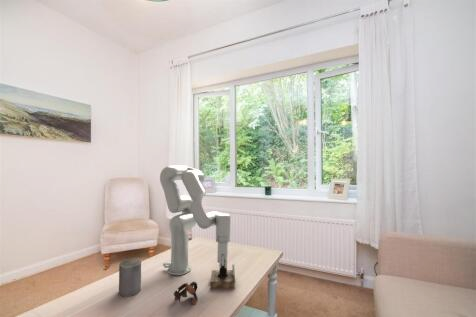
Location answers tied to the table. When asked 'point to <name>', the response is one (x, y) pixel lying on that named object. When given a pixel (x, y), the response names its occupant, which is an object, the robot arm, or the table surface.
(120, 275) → the pillar candle
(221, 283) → the jig
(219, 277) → the gold cylinder
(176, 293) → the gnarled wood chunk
